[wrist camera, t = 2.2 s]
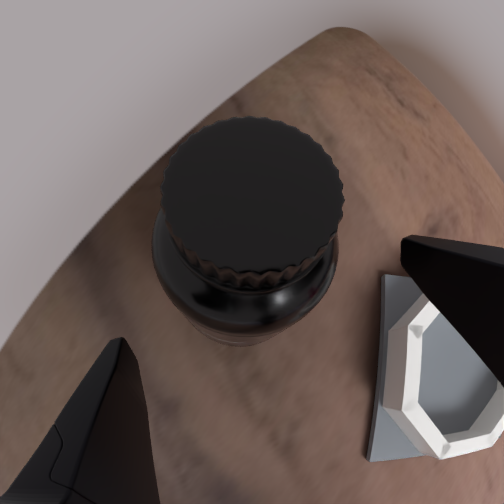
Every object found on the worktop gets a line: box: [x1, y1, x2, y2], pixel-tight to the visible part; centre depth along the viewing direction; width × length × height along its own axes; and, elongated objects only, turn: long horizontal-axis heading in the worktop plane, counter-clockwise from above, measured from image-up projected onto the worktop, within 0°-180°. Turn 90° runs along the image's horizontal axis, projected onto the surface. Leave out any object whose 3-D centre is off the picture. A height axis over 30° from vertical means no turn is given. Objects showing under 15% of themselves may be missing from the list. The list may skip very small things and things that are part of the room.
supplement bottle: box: [152, 116, 345, 347], centre depth 13 cm, size 7×7×12 cm
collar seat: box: [366, 274, 504, 462], centre depth 16 cm, size 12×12×3 cm
